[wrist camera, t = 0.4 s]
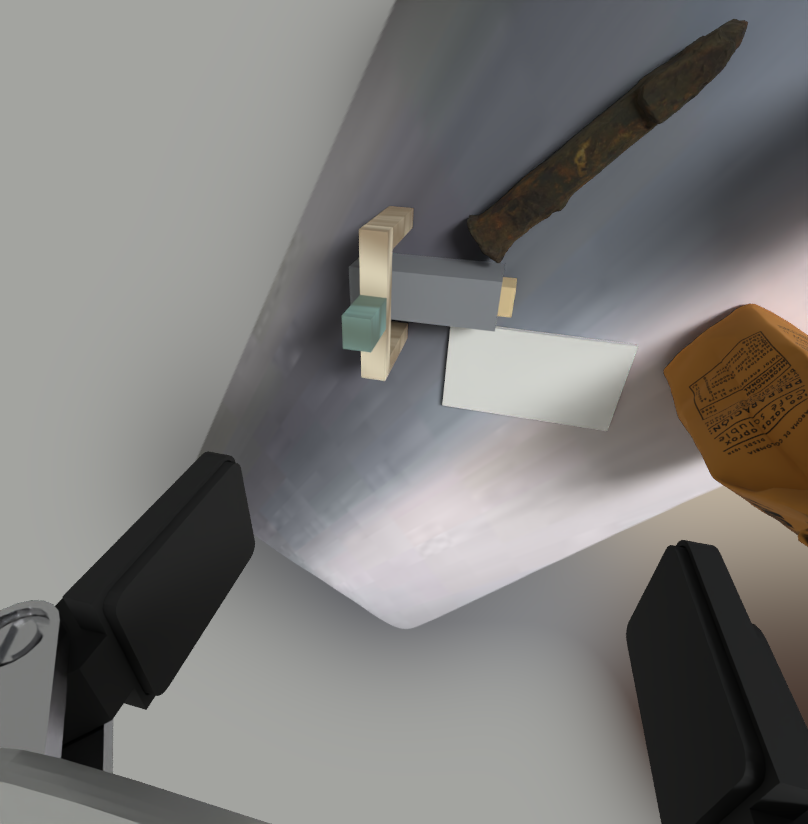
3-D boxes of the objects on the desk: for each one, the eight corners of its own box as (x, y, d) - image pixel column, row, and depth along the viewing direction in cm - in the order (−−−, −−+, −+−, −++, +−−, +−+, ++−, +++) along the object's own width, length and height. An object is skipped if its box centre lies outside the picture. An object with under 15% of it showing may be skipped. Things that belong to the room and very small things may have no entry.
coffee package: (729, 449, 43) (868, 697, 25) (642, 364, 40) (729, 573, 23) (852, 385, 37) (1141, 646, 20) (761, 282, 35) (999, 474, 17)
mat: (451, 320, 42) (450, 322, 42) (637, 344, 39) (638, 347, 39) (443, 402, 47) (442, 405, 47) (606, 428, 44) (607, 431, 44)
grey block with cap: (367, 249, 40) (348, 266, 36) (518, 263, 38) (517, 283, 34) (367, 294, 43) (350, 314, 39) (511, 309, 40) (508, 333, 36)
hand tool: (495, 256, 38) (492, 274, 35) (467, 216, 37) (460, 229, 33) (750, 69, 29) (783, 65, 25) (723, 7, 27) (754, -8, 24)
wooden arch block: (389, 206, 37) (338, 244, 28) (413, 208, 37) (370, 248, 27) (386, 335, 44) (345, 403, 34) (407, 338, 44) (371, 407, 34)
